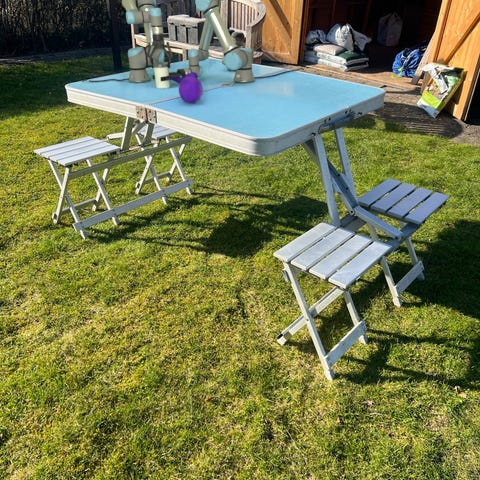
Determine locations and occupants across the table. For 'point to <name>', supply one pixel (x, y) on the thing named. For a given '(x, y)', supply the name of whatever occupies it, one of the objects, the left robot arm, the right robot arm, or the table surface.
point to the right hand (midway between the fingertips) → (156, 78)
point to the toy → (189, 87)
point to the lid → (160, 64)
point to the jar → (161, 73)
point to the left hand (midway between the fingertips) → (161, 68)
